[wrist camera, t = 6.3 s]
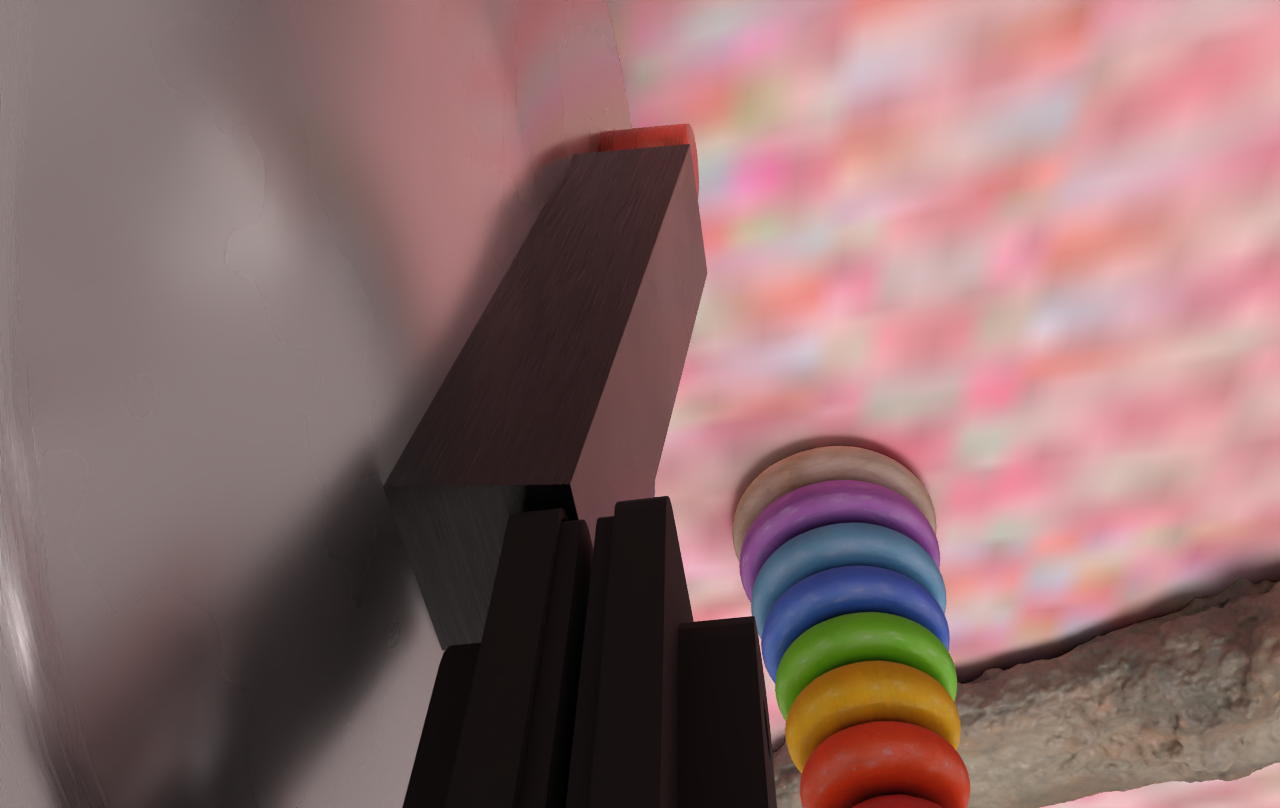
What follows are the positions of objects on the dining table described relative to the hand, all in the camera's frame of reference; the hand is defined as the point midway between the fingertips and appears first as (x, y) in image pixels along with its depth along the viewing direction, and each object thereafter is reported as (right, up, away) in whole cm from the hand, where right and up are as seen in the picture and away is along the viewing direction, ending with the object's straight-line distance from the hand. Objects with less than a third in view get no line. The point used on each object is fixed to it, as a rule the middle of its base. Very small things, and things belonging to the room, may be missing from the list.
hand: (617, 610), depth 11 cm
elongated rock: (+21, -10, +37) cm, 44 cm away
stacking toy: (+8, -2, +32) cm, 33 cm away
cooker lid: (-3, +3, +4) cm, 6 cm away
